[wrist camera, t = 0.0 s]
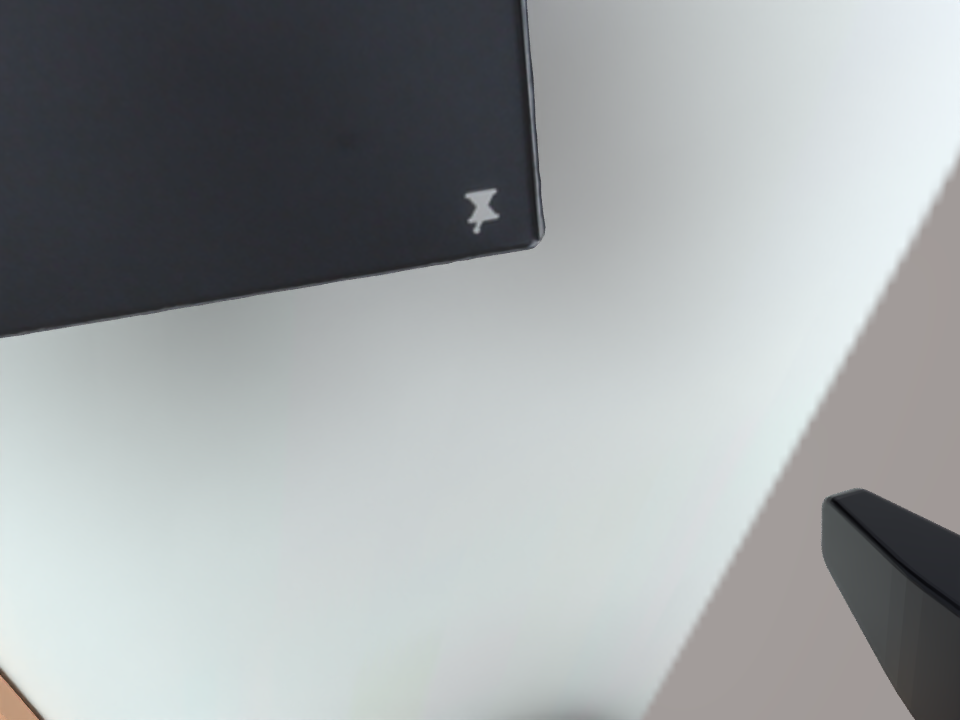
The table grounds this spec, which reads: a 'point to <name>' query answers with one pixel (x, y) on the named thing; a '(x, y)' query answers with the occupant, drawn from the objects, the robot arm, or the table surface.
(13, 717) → the stub
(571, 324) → the table surface
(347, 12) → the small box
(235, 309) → the table surface
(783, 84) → the table surface
